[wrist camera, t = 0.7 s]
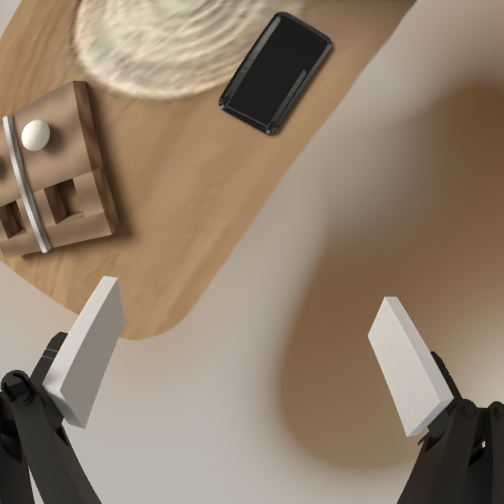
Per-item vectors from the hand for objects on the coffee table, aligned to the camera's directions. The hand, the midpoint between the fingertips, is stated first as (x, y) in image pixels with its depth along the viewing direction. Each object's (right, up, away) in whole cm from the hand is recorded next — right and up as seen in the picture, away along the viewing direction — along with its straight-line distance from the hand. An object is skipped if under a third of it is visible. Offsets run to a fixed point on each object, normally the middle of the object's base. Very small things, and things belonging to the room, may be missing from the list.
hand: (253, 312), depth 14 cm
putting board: (-32, +14, +21) cm, 41 cm away
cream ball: (-27, +17, +13) cm, 34 cm away
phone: (+3, +25, +17) cm, 30 cm away
